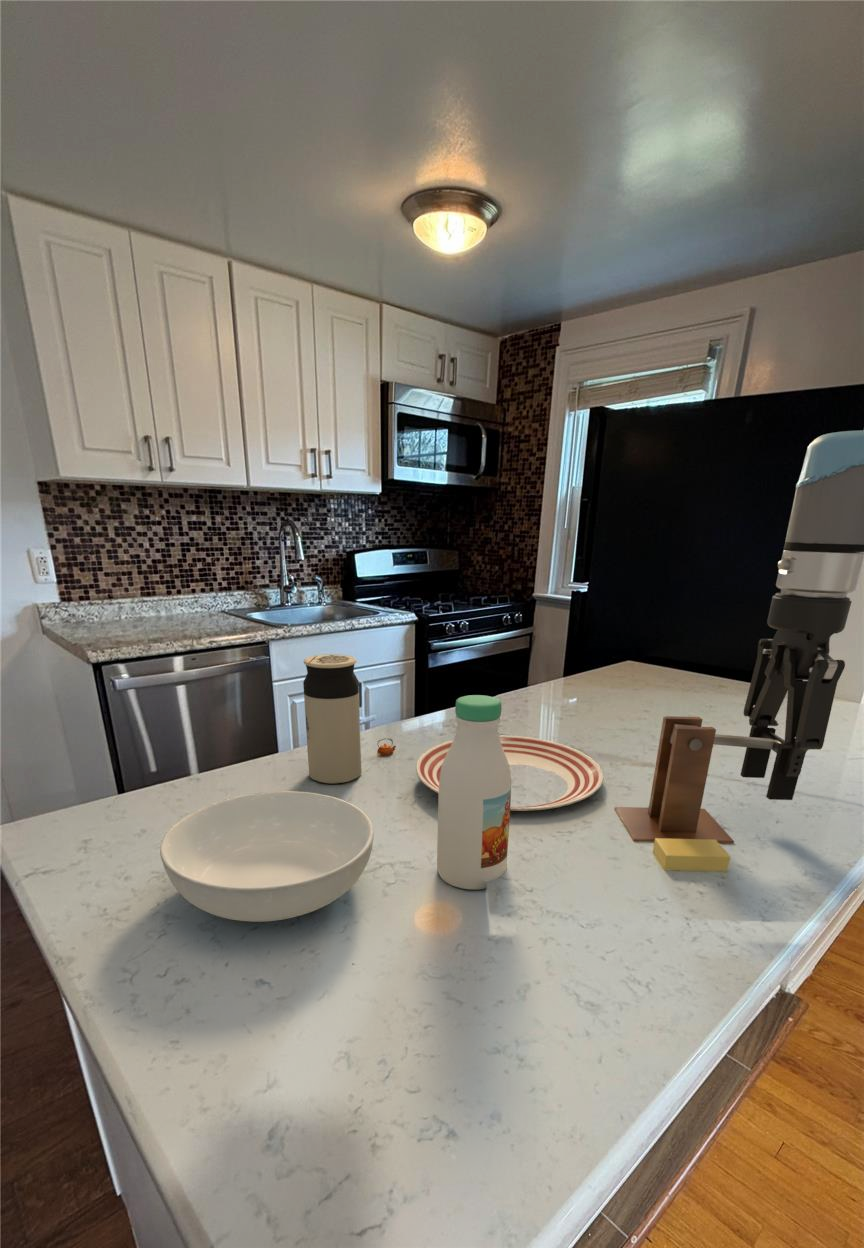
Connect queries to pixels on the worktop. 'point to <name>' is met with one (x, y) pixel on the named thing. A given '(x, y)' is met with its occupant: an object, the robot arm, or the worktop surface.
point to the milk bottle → (474, 798)
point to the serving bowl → (268, 854)
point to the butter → (691, 854)
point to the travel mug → (332, 718)
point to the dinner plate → (534, 752)
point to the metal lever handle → (744, 740)
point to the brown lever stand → (677, 788)
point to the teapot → (385, 749)
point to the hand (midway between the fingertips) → (765, 786)
